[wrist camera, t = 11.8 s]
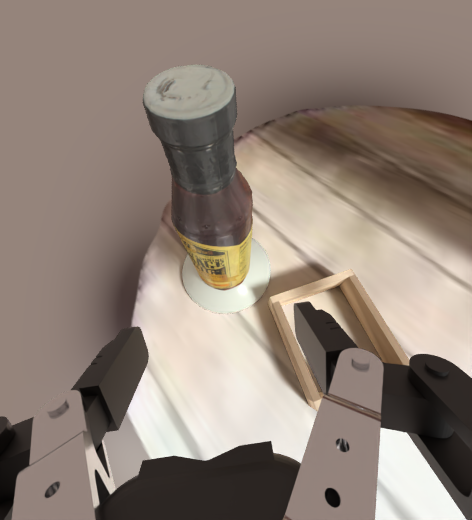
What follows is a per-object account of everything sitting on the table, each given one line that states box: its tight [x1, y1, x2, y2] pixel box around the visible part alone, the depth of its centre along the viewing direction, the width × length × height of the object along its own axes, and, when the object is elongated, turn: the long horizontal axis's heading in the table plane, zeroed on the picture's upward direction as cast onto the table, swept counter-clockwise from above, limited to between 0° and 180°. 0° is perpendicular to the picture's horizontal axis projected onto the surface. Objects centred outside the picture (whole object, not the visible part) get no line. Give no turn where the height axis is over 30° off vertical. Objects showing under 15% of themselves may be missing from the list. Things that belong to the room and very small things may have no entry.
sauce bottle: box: [143, 65, 253, 291], centre depth 18 cm, size 7×6×20 cm
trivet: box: [182, 238, 271, 314], centre depth 27 cm, size 11×11×1 cm
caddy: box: [268, 269, 410, 411], centre depth 22 cm, size 9×10×3 cm
